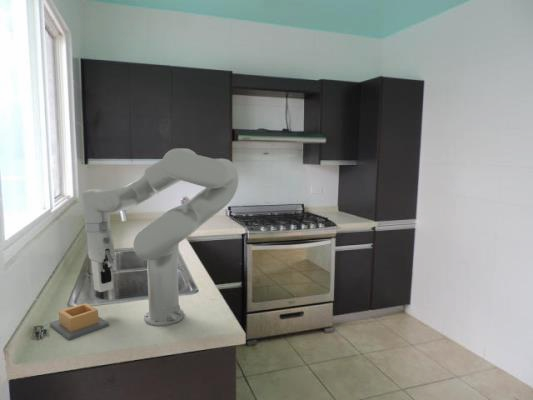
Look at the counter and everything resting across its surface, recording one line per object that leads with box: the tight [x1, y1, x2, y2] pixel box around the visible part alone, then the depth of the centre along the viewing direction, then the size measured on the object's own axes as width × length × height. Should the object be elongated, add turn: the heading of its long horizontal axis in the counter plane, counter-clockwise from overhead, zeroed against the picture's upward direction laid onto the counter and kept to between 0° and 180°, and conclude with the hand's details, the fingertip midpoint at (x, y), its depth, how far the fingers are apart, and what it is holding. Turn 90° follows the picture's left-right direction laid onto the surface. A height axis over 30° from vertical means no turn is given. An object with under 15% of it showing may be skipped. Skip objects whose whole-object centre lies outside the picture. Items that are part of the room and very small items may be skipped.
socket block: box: [49, 302, 110, 341], centre depth 119 cm, size 14×12×5 cm
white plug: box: [90, 259, 114, 293], centre depth 126 cm, size 4×4×10 cm
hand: (102, 280), depth 126 cm, fingers closed on white plug, 4 cm apart
